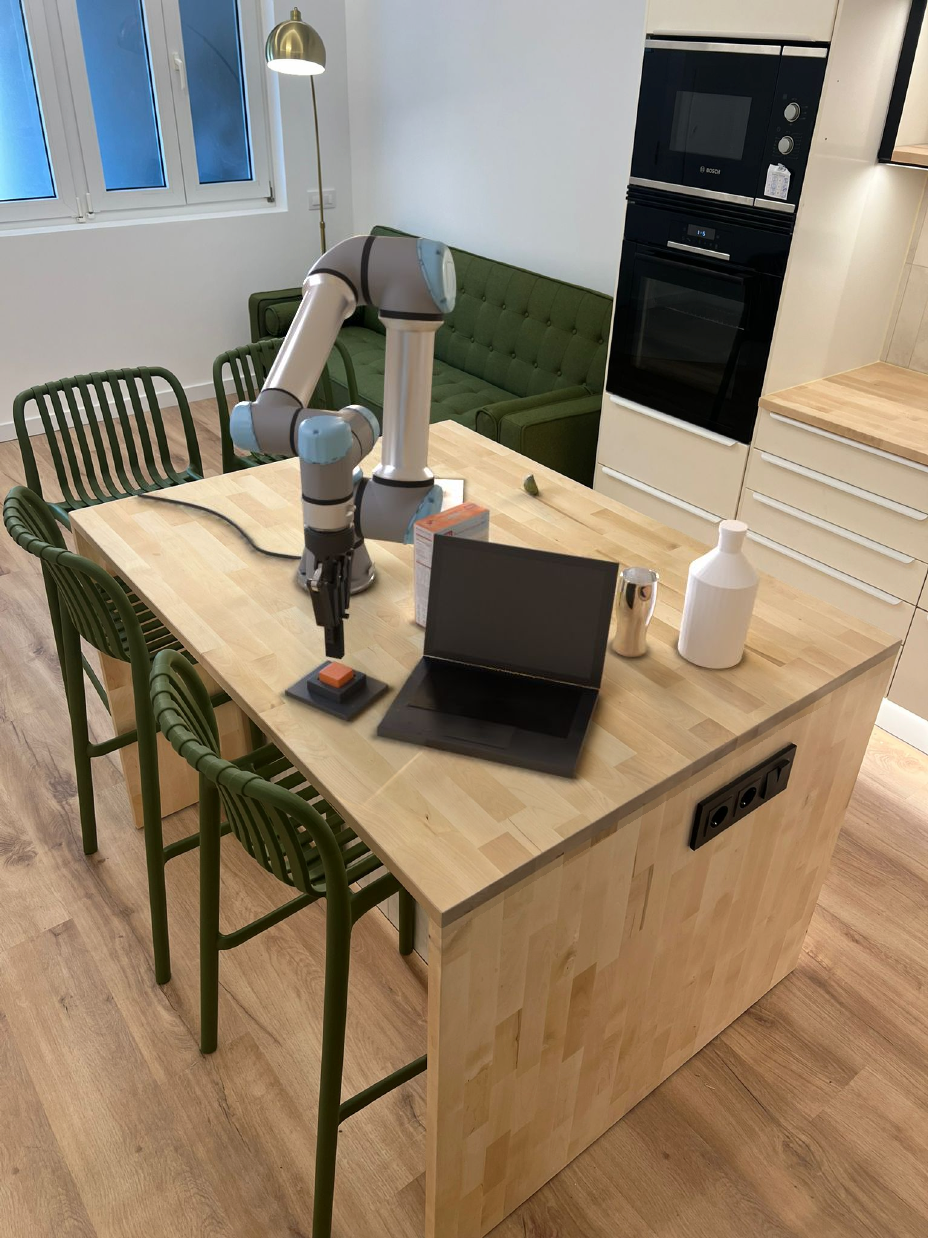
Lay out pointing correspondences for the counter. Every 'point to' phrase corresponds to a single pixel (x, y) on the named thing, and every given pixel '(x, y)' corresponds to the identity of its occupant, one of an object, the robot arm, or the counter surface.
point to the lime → (531, 485)
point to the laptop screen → (520, 609)
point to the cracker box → (453, 522)
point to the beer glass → (634, 609)
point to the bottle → (719, 602)
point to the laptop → (492, 715)
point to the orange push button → (337, 693)
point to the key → (336, 674)
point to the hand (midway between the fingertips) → (335, 655)
